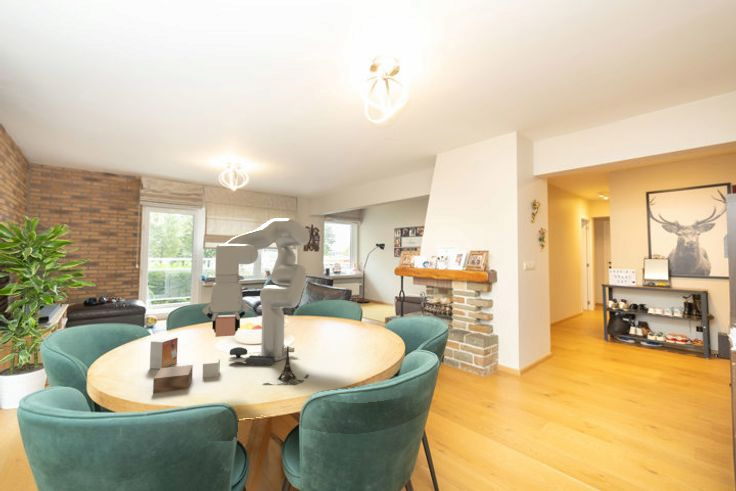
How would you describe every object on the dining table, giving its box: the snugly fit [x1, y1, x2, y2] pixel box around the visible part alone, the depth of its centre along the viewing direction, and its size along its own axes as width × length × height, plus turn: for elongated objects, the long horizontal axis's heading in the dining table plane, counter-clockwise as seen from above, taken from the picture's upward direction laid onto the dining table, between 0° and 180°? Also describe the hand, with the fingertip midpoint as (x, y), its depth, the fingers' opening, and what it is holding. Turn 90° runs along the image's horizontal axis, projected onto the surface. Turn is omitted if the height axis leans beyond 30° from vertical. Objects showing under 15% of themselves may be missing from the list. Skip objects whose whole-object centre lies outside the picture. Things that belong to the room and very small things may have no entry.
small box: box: [149, 336, 179, 370], centre depth 129 cm, size 8×6×10 cm
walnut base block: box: [152, 364, 194, 394], centre depth 110 cm, size 10×10×5 cm
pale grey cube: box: [202, 358, 221, 378], centre depth 121 cm, size 5×5×5 cm
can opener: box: [228, 347, 276, 367], centre depth 133 cm, size 19×5×6 cm, turn 87°
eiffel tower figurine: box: [262, 346, 310, 386], centre depth 117 cm, size 15×10×13 cm
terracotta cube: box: [214, 314, 237, 338], centre depth 113 cm, size 6×6×6 cm
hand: (226, 330), depth 113 cm, fingers closed on terracotta cube, 6 cm apart
